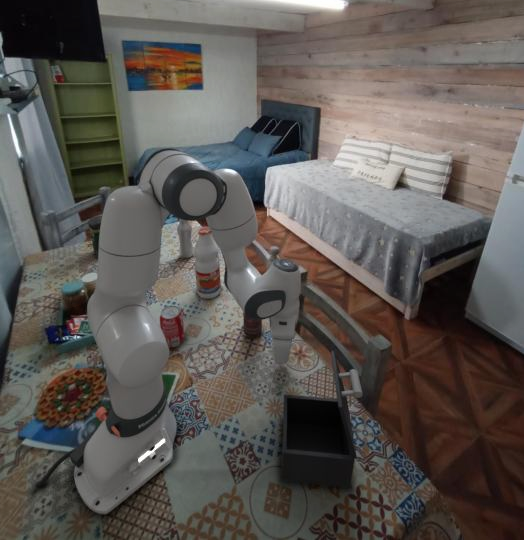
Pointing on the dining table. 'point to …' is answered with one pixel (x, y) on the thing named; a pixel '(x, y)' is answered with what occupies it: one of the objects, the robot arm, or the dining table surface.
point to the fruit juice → (207, 265)
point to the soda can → (172, 325)
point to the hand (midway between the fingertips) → (281, 347)
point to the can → (252, 327)
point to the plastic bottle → (185, 239)
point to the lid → (342, 398)
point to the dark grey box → (315, 443)
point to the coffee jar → (95, 232)
